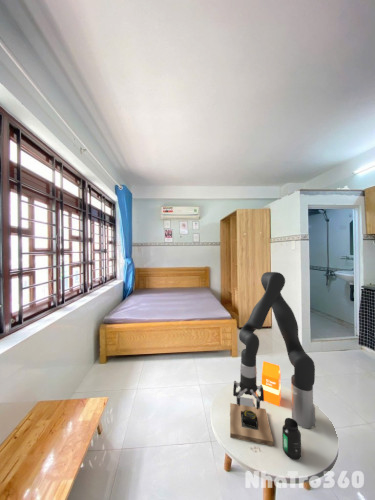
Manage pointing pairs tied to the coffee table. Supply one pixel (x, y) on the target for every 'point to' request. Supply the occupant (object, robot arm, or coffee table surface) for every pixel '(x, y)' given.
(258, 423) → the board
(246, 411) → the tape measure
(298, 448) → the supplement bottle
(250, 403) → the mat
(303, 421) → the robot arm
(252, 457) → the coffee table surface
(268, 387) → the orange juice
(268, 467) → the coffee table surface
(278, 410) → the coffee table surface
